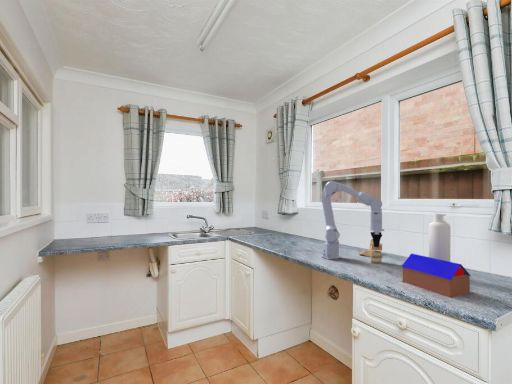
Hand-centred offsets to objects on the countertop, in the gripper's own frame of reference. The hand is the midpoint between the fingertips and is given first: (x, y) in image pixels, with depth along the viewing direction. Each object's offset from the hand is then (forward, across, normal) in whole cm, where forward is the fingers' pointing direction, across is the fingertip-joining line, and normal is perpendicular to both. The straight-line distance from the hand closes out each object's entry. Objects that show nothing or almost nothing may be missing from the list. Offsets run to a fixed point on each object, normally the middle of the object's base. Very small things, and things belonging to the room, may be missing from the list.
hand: (376, 246), depth 151 cm
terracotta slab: (+2, 0, 0) cm, 2 cm away
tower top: (+6, 0, 0) cm, 6 cm away
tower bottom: (+9, 0, 0) cm, 9 cm away
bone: (+9, +20, +2) cm, 22 cm away
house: (+9, -36, -20) cm, 42 cm away
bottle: (+9, -18, -25) cm, 32 cm away
